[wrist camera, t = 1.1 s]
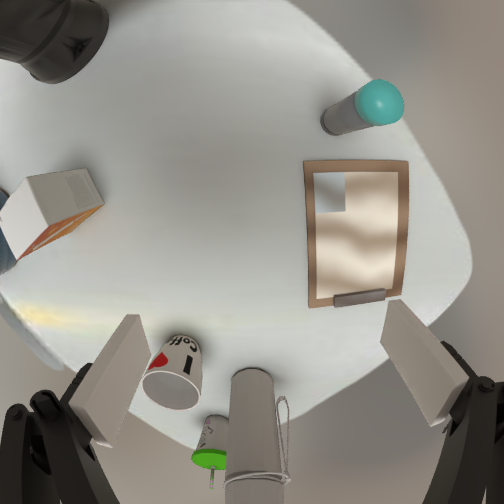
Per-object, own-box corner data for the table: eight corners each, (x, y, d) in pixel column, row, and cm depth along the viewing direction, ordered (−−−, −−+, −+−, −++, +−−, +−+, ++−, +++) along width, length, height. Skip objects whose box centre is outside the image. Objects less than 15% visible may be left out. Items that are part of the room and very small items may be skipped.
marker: (318, 107, 30) (360, 77, 16) (346, 108, 30) (400, 82, 16) (321, 136, 31) (366, 122, 18) (349, 136, 31) (406, 125, 18)
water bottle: (235, 397, 44) (230, 522, 21) (225, 367, 42) (212, 508, 18) (286, 390, 44) (303, 517, 20) (281, 360, 41) (301, 503, 18)
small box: (71, 232, 34) (15, 262, 22) (54, 197, 33) (-6, 216, 20) (106, 204, 33) (48, 227, 21) (87, 166, 32) (25, 175, 19)
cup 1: (209, 331, 40) (200, 376, 30) (208, 369, 42) (200, 414, 33) (158, 323, 39) (137, 365, 30) (161, 362, 42) (145, 404, 32)
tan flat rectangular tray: (303, 161, 32) (305, 161, 30) (406, 161, 32) (412, 161, 30) (308, 306, 38) (310, 312, 37) (399, 293, 38) (403, 297, 36)
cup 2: (211, 404, 45) (202, 470, 31) (244, 419, 47) (243, 482, 32) (191, 420, 47) (180, 480, 33) (222, 434, 49) (218, 492, 34)
